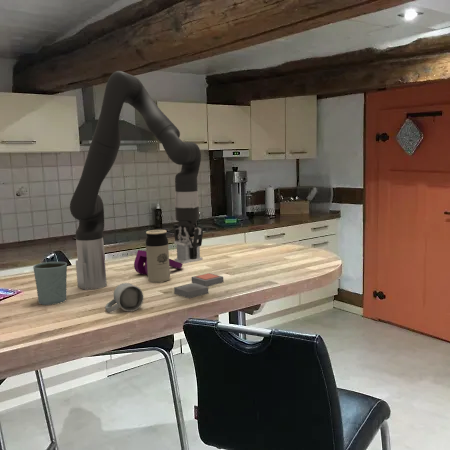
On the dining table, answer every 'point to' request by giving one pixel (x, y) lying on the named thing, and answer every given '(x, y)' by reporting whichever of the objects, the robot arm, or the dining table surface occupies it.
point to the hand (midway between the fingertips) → (188, 257)
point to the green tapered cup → (51, 282)
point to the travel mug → (157, 256)
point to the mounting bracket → (142, 259)
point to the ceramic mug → (126, 298)
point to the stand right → (207, 279)
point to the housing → (185, 252)
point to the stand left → (191, 290)
